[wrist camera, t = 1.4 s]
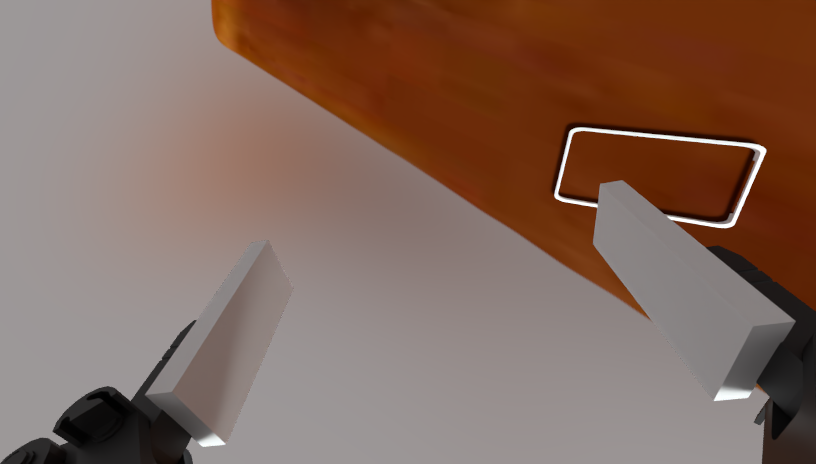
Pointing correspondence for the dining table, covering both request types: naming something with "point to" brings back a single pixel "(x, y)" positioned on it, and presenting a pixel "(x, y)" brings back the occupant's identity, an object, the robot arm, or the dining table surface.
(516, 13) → the dining table surface
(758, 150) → the silver rectangular frame
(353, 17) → the dining table surface
